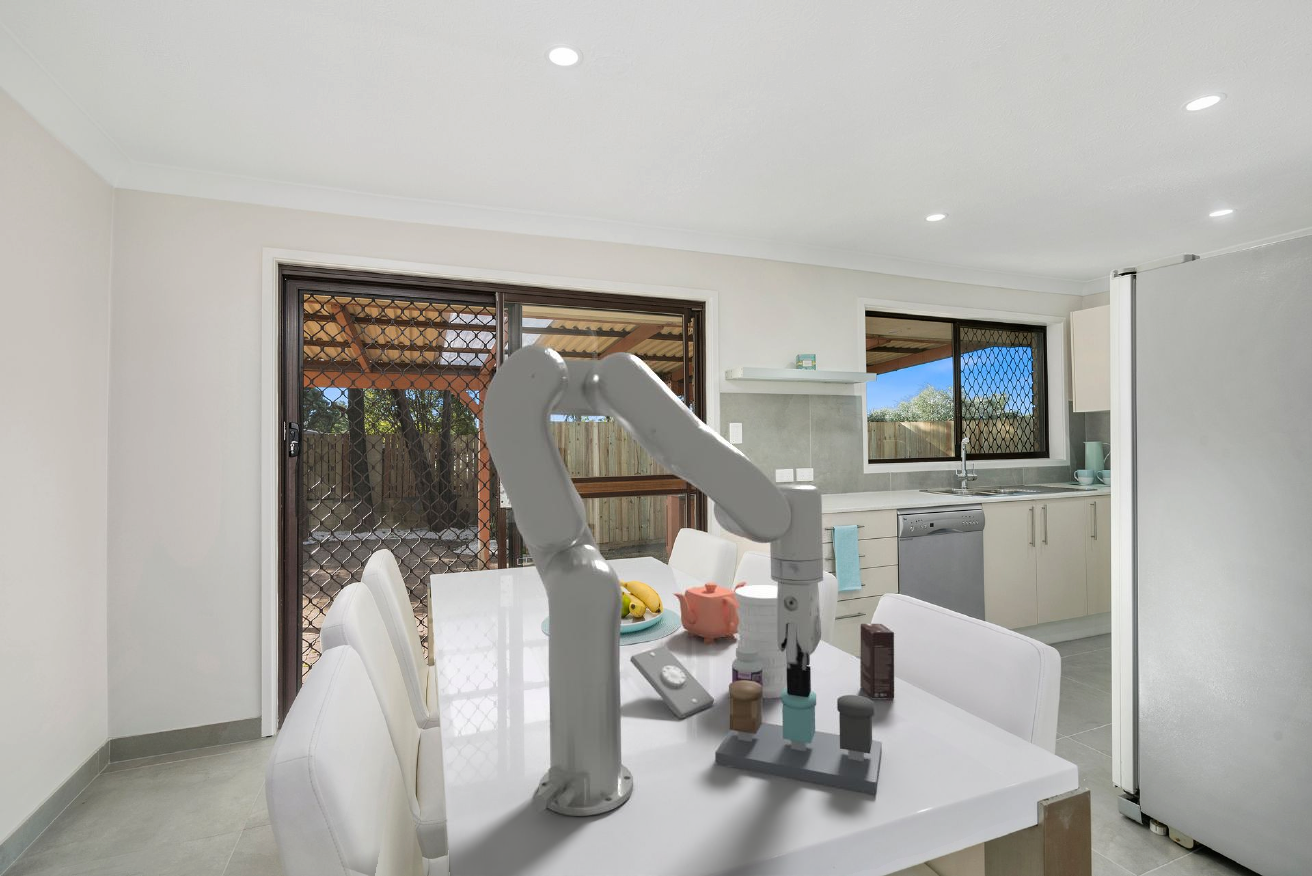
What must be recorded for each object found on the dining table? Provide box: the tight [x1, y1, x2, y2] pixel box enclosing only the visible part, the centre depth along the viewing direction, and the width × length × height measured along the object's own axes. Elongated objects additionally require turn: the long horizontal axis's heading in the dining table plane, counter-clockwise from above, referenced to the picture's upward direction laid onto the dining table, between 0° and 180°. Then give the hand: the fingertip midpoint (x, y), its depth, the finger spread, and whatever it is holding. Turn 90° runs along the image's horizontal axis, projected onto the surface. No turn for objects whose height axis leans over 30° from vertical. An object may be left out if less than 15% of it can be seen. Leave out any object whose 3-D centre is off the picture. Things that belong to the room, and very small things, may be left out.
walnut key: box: [728, 680, 763, 734], centre depth 95 cm, size 5×5×6 cm
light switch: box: [629, 645, 715, 720], centre depth 113 cm, size 8×6×14 cm
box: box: [859, 623, 895, 701], centre depth 115 cm, size 6×4×12 cm
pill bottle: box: [731, 646, 764, 703], centre depth 111 cm, size 5×5×10 cm
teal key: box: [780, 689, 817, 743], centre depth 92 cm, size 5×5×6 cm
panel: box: [714, 721, 883, 795], centre depth 92 cm, size 12×22×6 cm, turn 67°
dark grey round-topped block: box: [836, 694, 875, 754], centre depth 89 cm, size 5×5×6 cm
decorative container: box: [735, 584, 787, 699], centre depth 119 cm, size 12×12×18 cm
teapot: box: [672, 581, 747, 645], centre depth 151 cm, size 15×17×13 cm
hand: (799, 693), depth 92 cm, fingers closed
